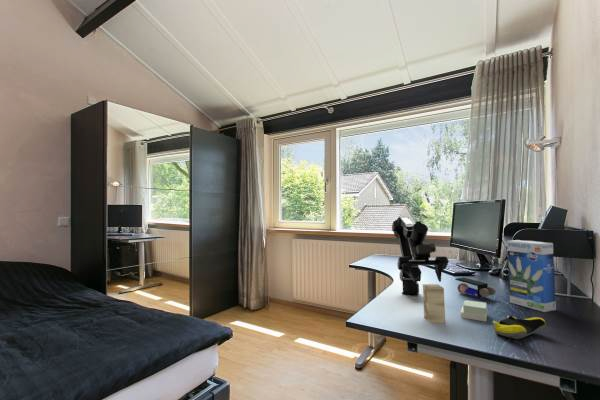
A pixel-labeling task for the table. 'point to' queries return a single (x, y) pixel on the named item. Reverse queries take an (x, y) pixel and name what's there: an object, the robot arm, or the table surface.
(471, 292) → the figurine character
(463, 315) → the bottom slab
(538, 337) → the table surface
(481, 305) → the top slab
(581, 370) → the table surface
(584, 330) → the table surface
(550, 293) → the string lights box
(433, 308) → the maple block
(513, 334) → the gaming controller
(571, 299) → the table surface
